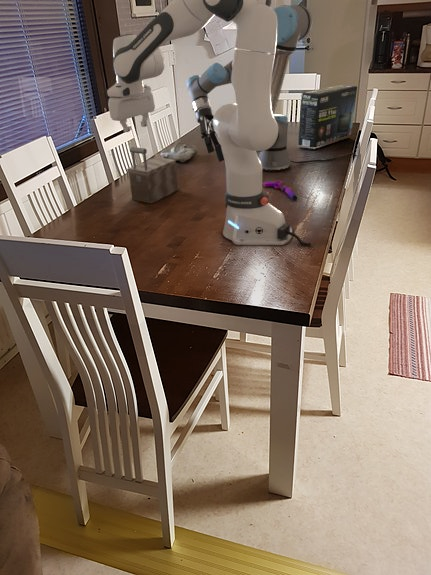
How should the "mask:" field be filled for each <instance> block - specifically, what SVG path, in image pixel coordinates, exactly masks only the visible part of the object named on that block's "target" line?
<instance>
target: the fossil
mask: <svg viewBox="0 0 431 575" xmlns="http://www.w3.org/2000/svg"><path fill="white" fill-rule="evenodd" d="M198 153H199V150H198V148H197V146H195V145H188V146H187V145H186V143H184V142H183V143H181V142H176V143H175V145H174V146H173V147H172V148H171V149H170V150H168V149H165V150H162V151H161V152H160V156H161V158H166V159H172V160H176V162H177V161H179V162H180V163H185V162H187V161H188V160H190V159H191V158H192V157H193V156H194V155H197V154H198Z"/></svg>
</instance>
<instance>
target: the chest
mask: <svg viewBox="0 0 431 575" xmlns="http://www.w3.org/2000/svg"><path fill="white" fill-rule="evenodd" d="M128 177H129V178H128V179H129V185H130V193H131V199H132V200H133V201H136V202H142V203H146V204H153V203H155V202H158V201H160V200H162V199H163V198H165V197H167V196H170V195H171V194H173V193H175V192H177V191H179V186H178V173H177V162H176V163H175V164H172V165H170V166H168V167H165V168H163V169H161V170H158V171H156V172H154V173H152V174H149V175H141V174H136V173H130V172H128Z"/></svg>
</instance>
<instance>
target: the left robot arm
mask: <svg viewBox="0 0 431 575" xmlns="http://www.w3.org/2000/svg"><path fill="white" fill-rule="evenodd" d="M273 9H274V8H273V7H272V0H171V1H170V2H169V3H168V5H166V6H165V8H164V9H162V10H161V12H160V13H159V14H158V15H156V17H155V18H153V19H152V20H151V21H150V22H149V23H148V24H147V25H146V26H145V27H144V28H143V29H142V31H140V32H139V34H133V33H127V34H121V35H118V36H116V37H115V38H114V39H113V43H112V55H113V56H112V57H113V60H112V65H113V66H112V67H113V71H114V73H115V75H116V82H115V83H114V84H113V85H112V86H111V87H109V88H107V90H106V93H107V97H108V111H109V116H110V119H111V120H112V121H117V122H119V124H120V126H121V127H122V130H123V132H124V133H129V132H131V127H130V126H129V125H128V124H127V122H128V120H127V119H131V118H134V117H138V116H139V117H140V116H141V117H142V118H141V121H140V127H141V128H145V127H147V126H148V119H149V113H152V112H155V108H156V105H155V104H156V103H155V99H154V95H153V92H152V88H151V87H150V85H149V84H144V80H149V79H153V78H157V77H158V76H160V75H162V73H164V70H165V64H166V61H165V56H164V54H163V52H162V51H161V49H160V47H161V46H163V45H165V44H166V43H168V42H171V41H174V40H175V41H176V40H178V39H182V38H186V37H191V36H193V35H195V34H196V33H197V32H200V31H201V30H202V29H203V28H204V27H205V26H206V25H207V24H208V23H209V22H210V21H211V20H212V19H213V18H214V16H216V17H217V18H219V19H221V20H223V21H225V22H227V23H229V22H232V23H233V24H234V26H235V29H236V36H235V37H236V38H235V43H234V44H235V45H234V53H233V54H234V55H233V59H232V60H233V67H232V75H231V82H232V83H231V85H232V87H233V90H234V95H235V103H226V104H224V105H223V104H222V105H221V106H220V107H219V108H218V109H217V110H216V111H215V113H214V114H213V115H214V118H213V119H212V124H213V125H214V128H215V130H216V133H217V135H218V138H219V140H220V143H221V148H222V152H223V156H224V160H223V161H224V165H225V177H226V178H225V183H226V190H225V194H224V205H225V209H226V210H225V218H224V219H225V220H224V226H223V229H222V235H223V237H225V239H228V240H230V241H232V243H233V244H234V245H236V246H283V245H286V244H288V243H289V242H290V240H291V239H292V237H294V239H296V241H297V243H298V244H300V245H301V246H307V247H310V246H311V242H305V241H303V240H302V239H301V237H299V236H298V234H296V233H294V232H293V228H292V227H291V224H289V223H286V219H285V215H284V213H283V212H282V211H280V210H279V209H278V208H277V207H276V206H275V205H272V204H271V203H270V202H269V194H270V192H269V191H267V192H266V191H265V190H263V171H262V169H263V168H262V164H261V161H260V160H259V158H258V157H259V154H258V153H257V152H256V151H264V150H267V149H269V148H270V147H271V146H272V145H273V144H274V143H275V141H276V139H277V136H278V125H277V122H276V120H275V118H274V116H273V112H272V104H271V78H272V71H273V65H274V58H275V55H272V54H275V51H276V43H277V15H276V13H275V11H274V10H273Z"/></svg>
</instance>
